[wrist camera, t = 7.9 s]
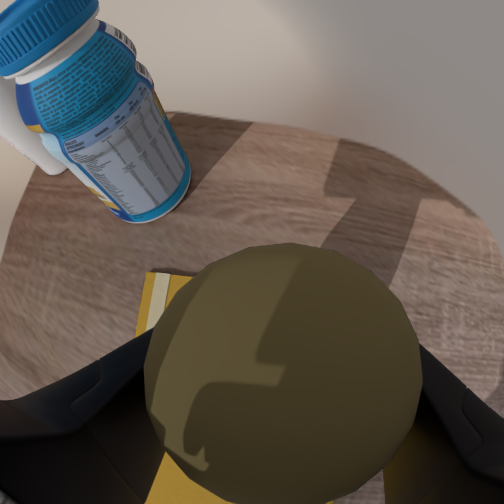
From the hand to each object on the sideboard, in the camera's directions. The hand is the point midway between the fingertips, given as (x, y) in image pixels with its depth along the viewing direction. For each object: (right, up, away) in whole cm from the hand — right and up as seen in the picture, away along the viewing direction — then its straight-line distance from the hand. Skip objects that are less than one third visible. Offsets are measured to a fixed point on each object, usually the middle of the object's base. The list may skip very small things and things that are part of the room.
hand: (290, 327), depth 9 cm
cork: (+1, -4, +6) cm, 7 cm away
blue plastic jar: (-10, +8, +19) cm, 23 cm away
